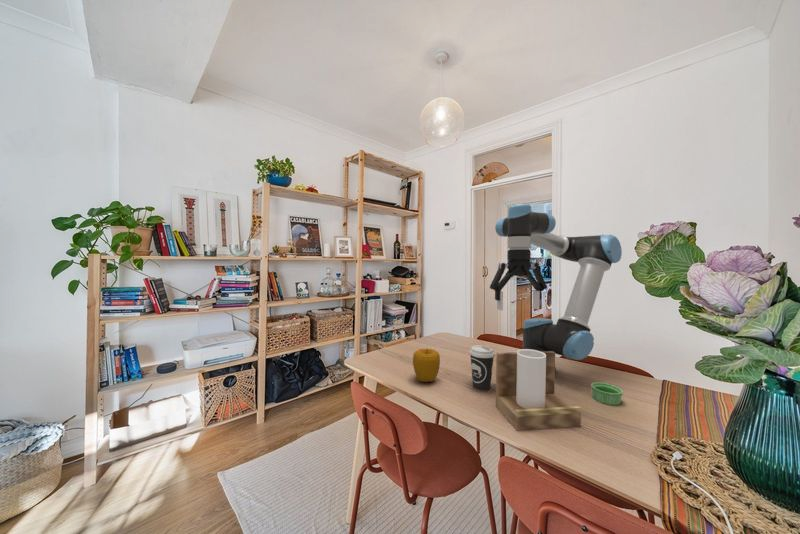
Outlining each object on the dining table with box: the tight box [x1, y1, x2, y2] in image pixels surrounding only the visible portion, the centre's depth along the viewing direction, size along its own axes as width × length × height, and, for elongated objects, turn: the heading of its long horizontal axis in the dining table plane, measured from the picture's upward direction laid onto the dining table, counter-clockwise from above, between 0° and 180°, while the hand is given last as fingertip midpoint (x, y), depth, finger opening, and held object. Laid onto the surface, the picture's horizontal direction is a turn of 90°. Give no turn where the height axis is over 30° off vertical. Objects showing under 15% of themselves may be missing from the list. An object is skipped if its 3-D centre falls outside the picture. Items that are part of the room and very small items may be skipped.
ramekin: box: [590, 381, 624, 406], centre depth 100 cm, size 9×9×4 cm
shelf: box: [495, 351, 582, 431], centre depth 89 cm, size 20×14×18 cm
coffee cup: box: [468, 344, 496, 392], centre depth 109 cm, size 10×10×15 cm
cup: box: [516, 348, 546, 409], centre depth 89 cm, size 8×8×16 cm
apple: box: [412, 348, 441, 383], centre depth 115 cm, size 11×11×13 cm
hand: (518, 309), depth 100 cm, fingers open, 13 cm apart
